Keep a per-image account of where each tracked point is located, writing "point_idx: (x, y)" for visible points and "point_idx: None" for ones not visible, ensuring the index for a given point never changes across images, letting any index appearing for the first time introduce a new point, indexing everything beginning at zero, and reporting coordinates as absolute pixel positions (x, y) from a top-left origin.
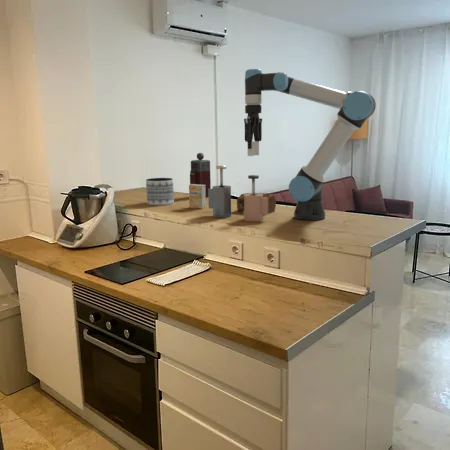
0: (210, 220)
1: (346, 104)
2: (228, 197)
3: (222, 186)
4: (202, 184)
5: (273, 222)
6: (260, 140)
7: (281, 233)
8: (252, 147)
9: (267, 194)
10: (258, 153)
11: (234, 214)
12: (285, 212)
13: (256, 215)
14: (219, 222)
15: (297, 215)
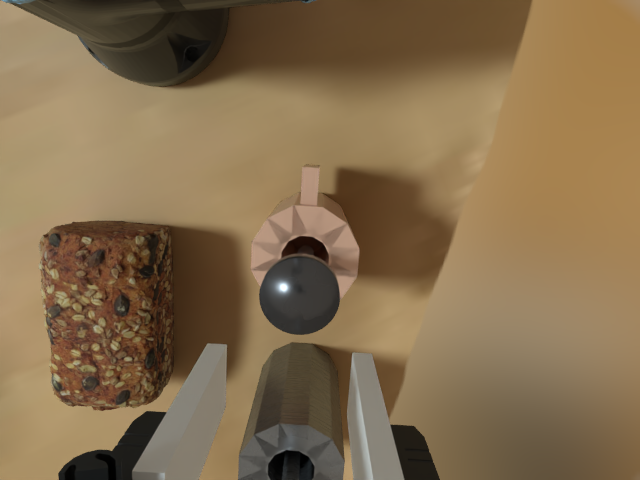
0: (396, 377)
1: None
2: (306, 391)
3: (293, 465)
4: None
5: (333, 126)
6: (102, 463)
7: (527, 8)
8: (387, 420)
9: (95, 260)
10: (216, 355)
11: (243, 349)
12: (93, 163)
13: (340, 208)
14: (418, 329)
15: (215, 45)
